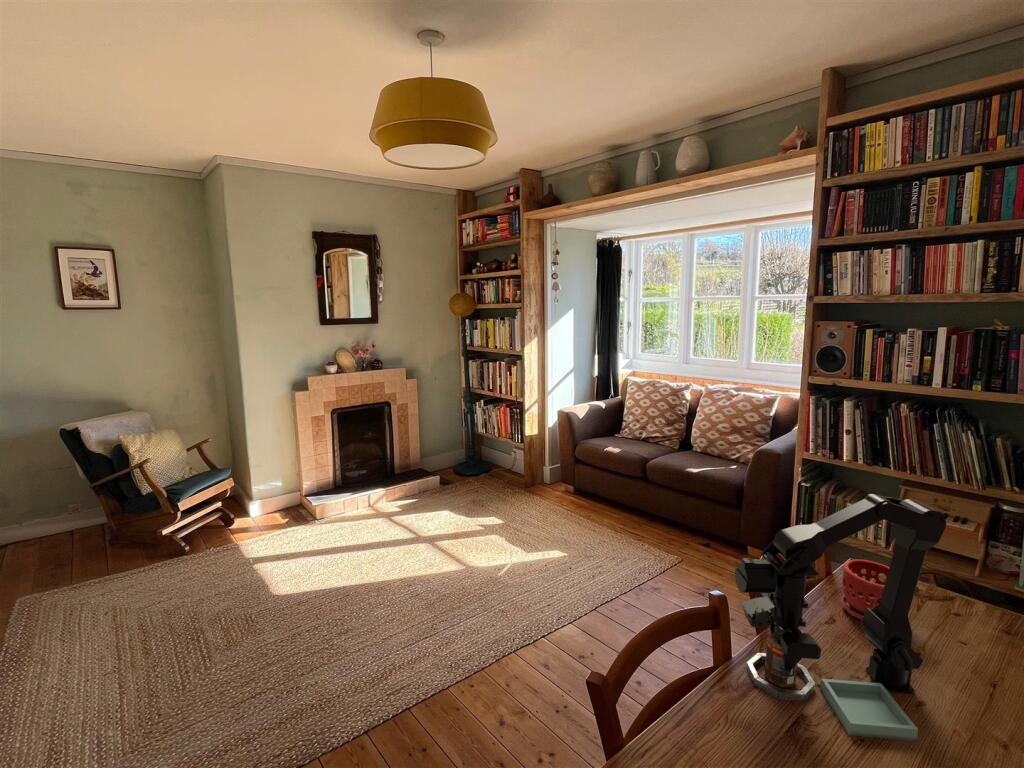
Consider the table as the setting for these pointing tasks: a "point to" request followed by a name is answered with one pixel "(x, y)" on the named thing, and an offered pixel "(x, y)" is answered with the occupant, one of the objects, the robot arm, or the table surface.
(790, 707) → the table surface
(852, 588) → the plant pot
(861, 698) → the tray
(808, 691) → the holder ring
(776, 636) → the supplement bottle
